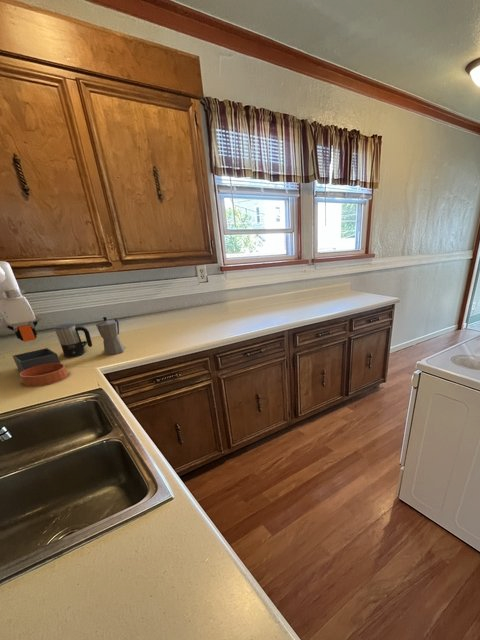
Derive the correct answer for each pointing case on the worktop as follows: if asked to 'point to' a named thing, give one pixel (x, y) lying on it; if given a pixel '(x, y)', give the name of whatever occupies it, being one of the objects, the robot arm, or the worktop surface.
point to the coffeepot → (110, 336)
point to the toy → (26, 332)
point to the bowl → (44, 374)
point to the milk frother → (72, 339)
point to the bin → (35, 358)
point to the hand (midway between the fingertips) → (28, 338)
